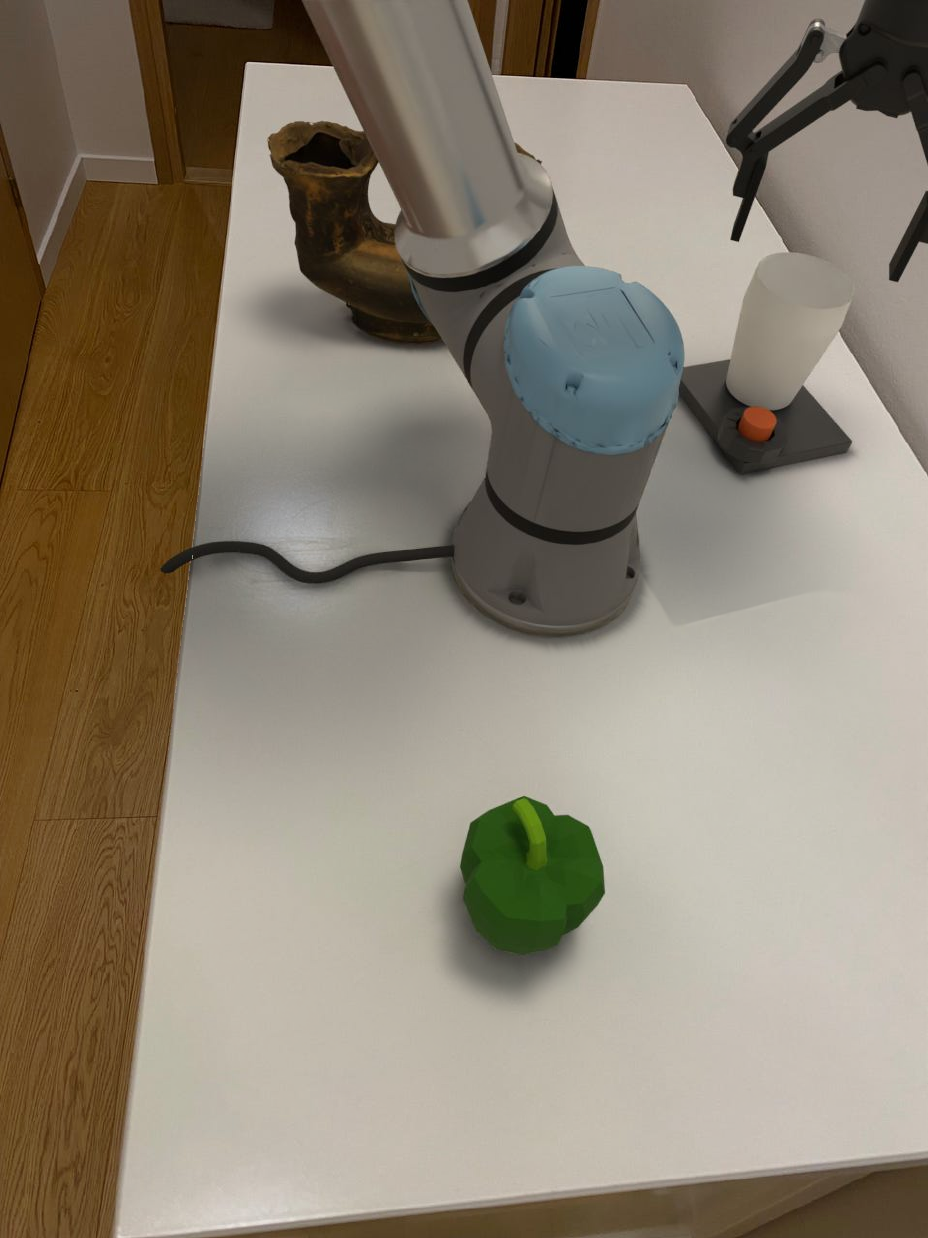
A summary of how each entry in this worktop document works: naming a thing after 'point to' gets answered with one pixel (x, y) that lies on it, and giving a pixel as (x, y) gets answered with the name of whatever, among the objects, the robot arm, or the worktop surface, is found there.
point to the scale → (792, 439)
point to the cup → (785, 327)
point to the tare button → (757, 424)
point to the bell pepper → (529, 875)
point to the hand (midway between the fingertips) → (813, 253)
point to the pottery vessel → (347, 229)
